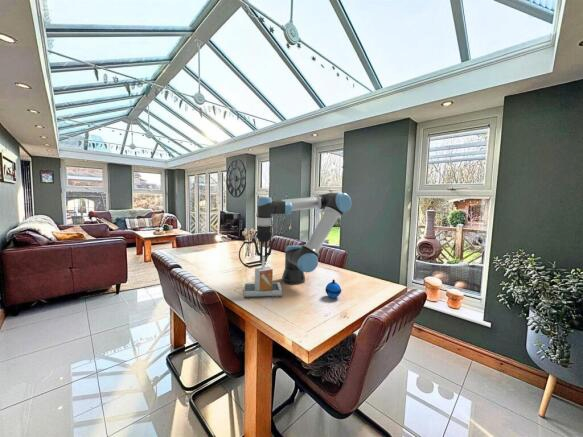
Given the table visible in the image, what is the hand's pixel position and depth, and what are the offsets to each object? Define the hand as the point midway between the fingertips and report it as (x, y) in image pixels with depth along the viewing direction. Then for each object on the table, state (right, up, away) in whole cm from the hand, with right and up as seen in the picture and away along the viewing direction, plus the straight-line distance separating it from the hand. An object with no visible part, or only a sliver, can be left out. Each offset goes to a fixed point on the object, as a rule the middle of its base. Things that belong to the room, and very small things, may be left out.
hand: (263, 267), depth 138 cm
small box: (0, -14, +1) cm, 14 cm away
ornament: (+38, -16, -1) cm, 42 cm away
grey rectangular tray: (0, -15, +1) cm, 15 cm away
